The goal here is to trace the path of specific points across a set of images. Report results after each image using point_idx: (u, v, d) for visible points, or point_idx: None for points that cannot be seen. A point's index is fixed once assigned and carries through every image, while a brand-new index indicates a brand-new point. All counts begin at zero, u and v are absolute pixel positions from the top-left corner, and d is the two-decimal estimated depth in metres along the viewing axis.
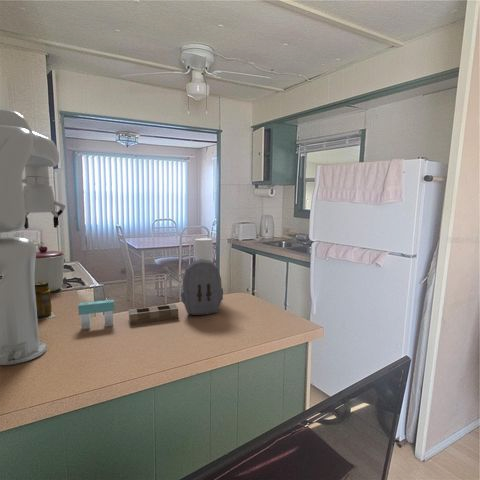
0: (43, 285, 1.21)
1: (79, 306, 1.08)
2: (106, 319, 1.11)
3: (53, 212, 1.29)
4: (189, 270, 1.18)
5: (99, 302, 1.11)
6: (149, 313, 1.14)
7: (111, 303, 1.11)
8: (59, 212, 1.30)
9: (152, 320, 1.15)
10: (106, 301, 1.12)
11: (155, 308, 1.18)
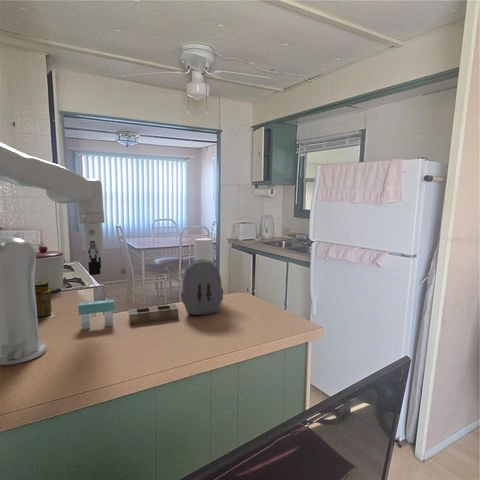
0: (43, 285, 1.21)
1: (79, 306, 1.08)
2: (106, 319, 1.11)
3: (99, 251, 1.14)
4: (189, 270, 1.18)
5: (99, 302, 1.11)
6: (149, 313, 1.14)
7: (111, 303, 1.11)
8: None
9: (152, 320, 1.15)
10: (106, 301, 1.12)
11: (155, 308, 1.18)
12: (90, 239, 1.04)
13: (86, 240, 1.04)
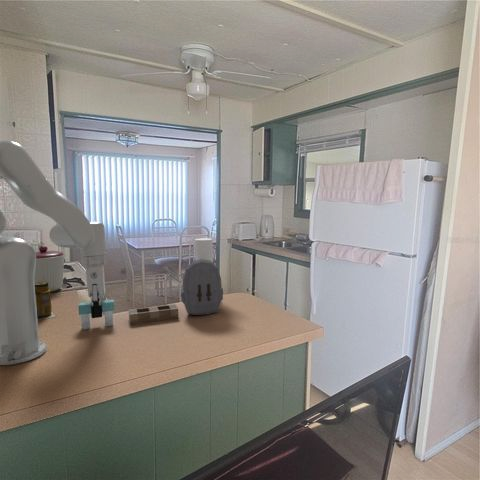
0: (43, 285, 1.21)
1: (79, 306, 1.08)
2: (106, 319, 1.11)
3: (100, 296, 1.13)
4: (189, 270, 1.18)
5: None
6: (149, 313, 1.14)
7: (111, 303, 1.11)
8: (99, 295, 1.14)
9: (152, 320, 1.15)
10: (106, 301, 1.12)
11: (155, 308, 1.18)
12: (92, 282, 1.05)
13: (88, 283, 1.05)
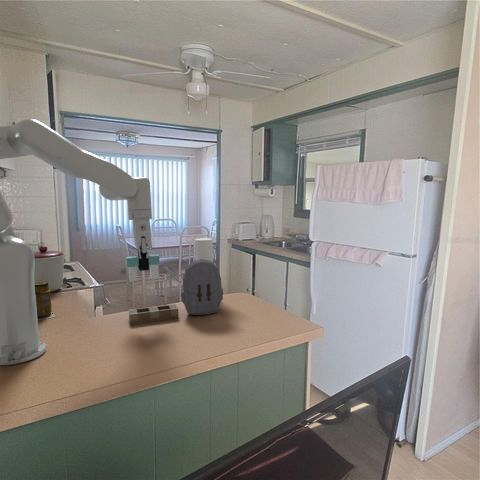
0: (43, 285, 1.21)
1: (127, 259, 1.12)
2: (152, 272, 1.15)
3: None
4: (189, 270, 1.18)
5: None
6: (149, 313, 1.14)
7: (157, 257, 1.15)
8: None
9: (152, 320, 1.15)
10: (152, 255, 1.16)
11: (155, 308, 1.18)
12: (141, 234, 1.09)
13: (137, 235, 1.09)
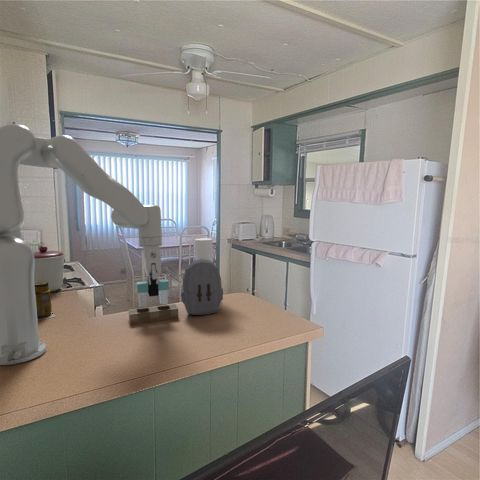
0: (43, 285, 1.21)
1: (138, 285, 1.14)
2: (162, 297, 1.17)
3: None
4: (189, 270, 1.18)
5: None
6: (149, 313, 1.14)
7: (166, 282, 1.17)
8: None
9: (152, 320, 1.15)
10: (161, 280, 1.18)
11: (155, 308, 1.18)
12: (151, 261, 1.11)
13: (147, 262, 1.11)
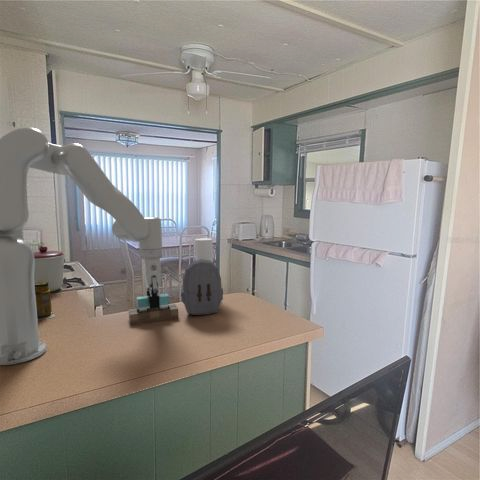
0: (43, 285, 1.21)
1: (138, 300, 1.14)
2: None
3: None
4: (189, 270, 1.18)
5: None
6: (149, 313, 1.14)
7: (167, 297, 1.17)
8: None
9: (152, 320, 1.15)
10: (161, 295, 1.18)
11: (155, 308, 1.18)
12: (152, 274, 1.11)
13: (148, 275, 1.11)
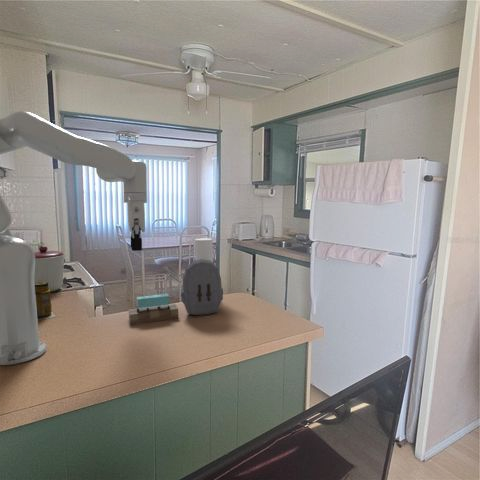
0: (43, 285, 1.21)
1: (138, 300, 1.14)
2: None
3: None
4: (189, 270, 1.18)
5: (155, 296, 1.17)
6: (149, 313, 1.14)
7: (167, 297, 1.17)
8: None
9: (152, 320, 1.15)
10: (161, 295, 1.18)
11: (155, 308, 1.18)
12: (134, 216, 1.10)
13: (131, 217, 1.10)
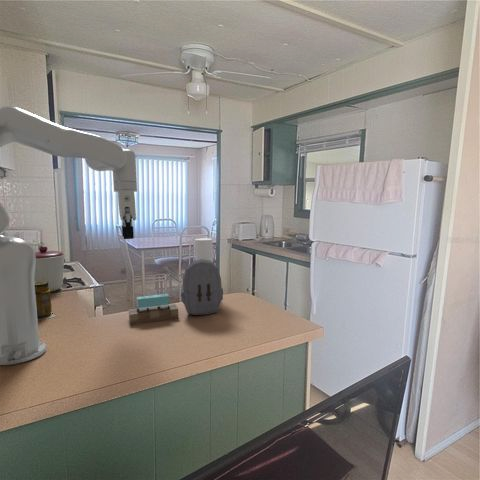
0: (43, 285, 1.21)
1: (138, 300, 1.14)
2: None
3: None
4: (189, 270, 1.18)
5: (155, 296, 1.17)
6: (149, 313, 1.14)
7: (167, 297, 1.17)
8: None
9: (152, 320, 1.15)
10: (161, 295, 1.18)
11: (155, 308, 1.18)
12: (125, 205, 1.11)
13: (121, 206, 1.11)
